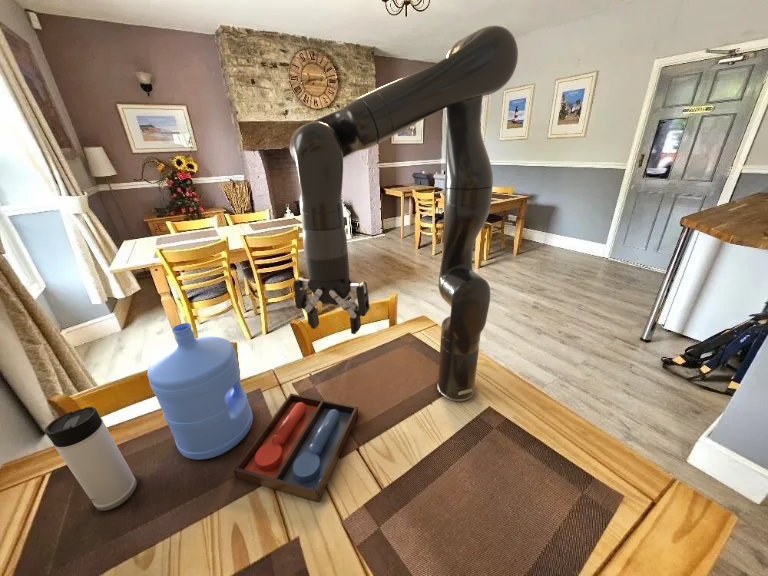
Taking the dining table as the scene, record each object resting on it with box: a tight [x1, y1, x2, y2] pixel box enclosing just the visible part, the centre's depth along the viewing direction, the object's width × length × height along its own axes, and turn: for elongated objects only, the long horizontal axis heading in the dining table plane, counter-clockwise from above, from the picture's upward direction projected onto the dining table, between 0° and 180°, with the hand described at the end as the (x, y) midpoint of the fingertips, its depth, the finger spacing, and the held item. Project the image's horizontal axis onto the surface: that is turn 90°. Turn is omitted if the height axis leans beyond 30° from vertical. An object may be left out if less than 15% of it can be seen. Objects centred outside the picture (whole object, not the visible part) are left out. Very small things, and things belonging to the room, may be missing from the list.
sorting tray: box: [232, 393, 359, 503], centre depth 67 cm, size 21×18×3 cm
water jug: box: [146, 322, 254, 461], centre depth 66 cm, size 16×16×28 cm
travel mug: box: [44, 406, 138, 512], centre depth 55 cm, size 6×7×20 cm
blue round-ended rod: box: [293, 409, 339, 483], centre depth 66 cm, size 17×5×3 cm, turn 164°
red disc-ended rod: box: [255, 402, 306, 471], centre depth 68 cm, size 17×5×3 cm, turn 164°
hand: (334, 329), depth 61 cm, fingers open, 8 cm apart
